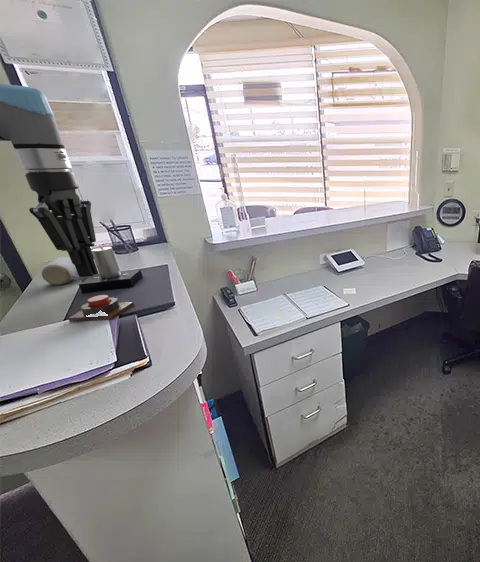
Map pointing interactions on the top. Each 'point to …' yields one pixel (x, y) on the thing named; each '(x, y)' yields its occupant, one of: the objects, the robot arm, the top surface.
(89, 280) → the panel
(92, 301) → the power button
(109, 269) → the silver cylinder
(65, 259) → the ceramic mug
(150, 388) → the top surface
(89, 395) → the top surface
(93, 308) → the button block
